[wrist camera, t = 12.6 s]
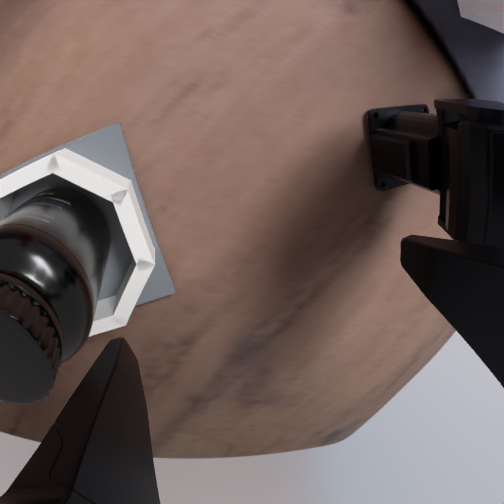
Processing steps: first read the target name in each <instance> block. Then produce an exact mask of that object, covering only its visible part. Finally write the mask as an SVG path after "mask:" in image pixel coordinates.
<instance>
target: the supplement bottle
mask: <svg viewBox="0 0 504 504" xmlns="http://www.w3.org/2000/svg"><path fill="white" fill-rule="evenodd" d="M109 252H110V232H109V228H108V224H107V222H106V219H105V217H104V215H103V213H102V212H101V210H100V209H99V208H98V206H97V205H96V204H95V203H94V202H93V201H92V200H91V199H90V198H88V197H87V196H85V195H84V194H82V193H80V192H78V191H76V190H72V189H68V188H51V189H47V190H44V191H42V192H40V193H38V194H36V195H34V196H33V197H31V198H30V199H28V200H27V201H26V202H24V203H23V204H22V205H20V206H19V207H17V208H16V209H15V210H13V211H12V212H11V213H10V214H8V215H7V216H6V217H4V218H3V219H2V220H0V401H3V402H5V403H12V404H15V405H20V404H22V405H28V404H35V403H36V402H37V401H42V400H43V398H44V397H45V396H48V394H49V392H50V390H51V389H52V388H53V386H54V381H55V378H56V374H57V370H58V368H59V366H60V364H61V363H63V362H65V361H67V360H69V359H70V358H71V357H73V356H74V355H75V354H76V353H77V352H78V351H79V350H80V349H81V348H82V347H83V345H84V344H85V342H86V341H87V339H88V336H89V334H90V331H91V328H92V324H93V321H94V316H95V311H96V307H97V302H98V298H99V293H100V289H101V285H102V281H103V277H104V273H105V269H106V265H107V261H108V257H109Z"/></svg>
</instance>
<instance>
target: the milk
mask: <svg viewBox="0 0 504 504" xmlns="http://www.w3.org/2000/svg"><path fill="white" fill-rule="evenodd" d="M457 2H458V6H459V10H460V15H461V17H463V18H466V19H469V20H471V21H474V22H477V23H479V24H482V25H484V26H487V27H489V28H492V29H494V30H496V31H498V32H501V33H503V34H504V0H457Z"/></svg>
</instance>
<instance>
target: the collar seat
mask: <svg viewBox="0 0 504 504" xmlns="http://www.w3.org/2000/svg"><path fill="white" fill-rule="evenodd" d="M51 188H68V189H72V190H76V191H78V192H80V193H82V194H84V195H85V196H87V197H88V198H90V199H91V200H92V201H93V202H94V203H95V204H96V205H97V206H98V208H99V209H100V210H101V212H102V213H103V215H104V217H105V219H106V222H107V224H108V228H109V232H110V252H109V257H108V261H107V265H106V269H105V273H104V277H103V281H102V285H101V289H100V293H99V298H98V302H97V307H96V311H95V316H94V321H93V324H92V328H91V331H90V334H89V336H93V335H96V334H99V333H103V332H106V331H109V330H113V329H116V328H119V327H122V326H126V323H127V321H128V319H129V317H130V315H131V313H132V311H133V309H134V306H137V305H140V304H143V303H146V302H149V301H152V300H155V299H158V298H162V297H165V296H168V295H171V294H174V293H176V290H175V287H174V284H173V282H172V279H171V276H170V274H169V271H168V268H167V266H166V263H165V260H164V258H163V255H162V252H161V249H160V247H159V244H158V241H157V238H156V235H155V232H154V230H153V227H152V224H151V221H150V218H149V215H148V212H147V209H146V206H145V203H144V200H143V197H142V194H141V191H140V187H139V184H138V181H137V178H136V175H135V171H134V168H133V165H132V161H131V158H130V155H129V151H128V148H127V144H126V141H125V137H124V134H123V130H122V126H121V122H119V123H116V124H114V125H111V126H108V127H105V128H103V129H100V130H97V131H95V132H92V133H90V134H87V135H85V136H82V137H80V138H77V139H75V140H72V141H70V142H68V143H65V144H63V145H61V146H58V147H56V148H54V149H52V150H49V151H47V152H45V153H43V154H41V155H39V156H37V157H34V158H32V159H30V160H28V161H26V162H24V163H22V164H20V165H18V166H16V167H14V168H12V169H11V170H9V171H7V172H5V173H3V174H1V175H0V220H2V219H3V218H4V217H6V216H7V215H8V214H10V213H11V212H12V211H13V210H15V209H16V208H17V207H19V206H20V205H22V204H23V203H24V202H26V201H27V200H28V199H30V198H31V197H33V196H34V195H36V194H38V193H40V192H42V191H44V190H47V189H51ZM89 336H88V337H89Z"/></svg>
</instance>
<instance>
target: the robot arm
mask: <svg viewBox="0 0 504 504" xmlns="http://www.w3.org/2000/svg"><path fill="white" fill-rule="evenodd" d="M434 105H435V108H436V111H437V115H435V114H429V109H428V107H427V105H424V104H417V105H405V106H394V107H385V108H376V109H371V110H369V112H368V122H369V130H370V141H371V150H372V160H373V168H374V179H375V187H376V189H378V190H380V191H384V190H388V189H391V188H395V187H398V186H401V185H405V184H408V183H410V184H413V185H415V186H418V187H421V188H423V189H426V190H428V191H431V192H434V193H436V194H439V195H440V213H439V216H438V224H439V225H440V226H441V227H442V228H443V229H444V230H445V231H446V232H447V233H448V234H449V235H450V236H451V237H452V238H453V240H448V239H440V238H433V237H426V236H418V235H410V236H407V237H405V238H403V239H402V241H401V257H400V261H401V265H402V267H403V268H404V269H405V271H406V272H407V273H408V274H409V276H410V277H411V278H412V280H413V281H414V282H415V283H416V285H417V286H418V287H419V289H420V290H421V291H422V292H423V294H424V295H425V296H426V297H427V299H428V300H429V301H430V302H431V303H432V304H433V305H434V306H435V307H436V308H437V310H438V311H439V312H440V313H441V314H442V315H443V316H444V317H445V318H446V319H447V321H448V322H449V323H450V324H451V325H452V326H453V327H454V328H455V329H456V331H457V332H458V333H459V334H460V335H461V336H462V337H463V338H464V340H465V341H466V342H467V343H468V344H469V346H470V347H471V348H472V349H473V350H474V351H475V353H476V354H477V355H478V356H479V357H480V359H481V360H482V361H483V362H484V363H485V365H486V366H487V367H488V368H489V369H490V371H491V372H492V373H493V374H494V376H495V377H496V378H497V380H498V381H499V382H500V383H501V385H502V386H503V388H504V104H503V103H500V102H496V101H488V100H479V99H442V100H434ZM423 109H424V111H423ZM374 113H375V118H374V116H373V114H374ZM381 182H382V185H381V186H380V184H381ZM0 504H160V500H159V494H158V488H157V482H156V476H155V469H154V462H153V455H152V447H151V439H150V431H149V421H148V412H147V406H146V400H145V396H144V391H143V386H142V381H141V376H140V370H139V365H138V361H137V359H136V357H135V355H134V353H133V351H132V350H131V348H130V346H129V345H128V343H127V341H126V340H125V339H124V338H123V337H120V338H116V339H113V340H110V341H109V343H108V344H107V345H106V347H105V348H104V350H103V351H102V352H101V354H100V355H99V357H98V358H97V360H96V361H95V362H94V364H93V365H92V367H91V368H90V370H89V371H88V373H87V374H86V375H85V377H84V378H83V380H82V381H81V383H80V384H79V386H78V387H77V389H76V390H75V392H74V393H73V395H72V396H71V398H70V399H69V401H68V402H67V404H66V405H65V407H64V408H63V410H62V411H61V413H60V414H59V416H58V418H57V419H56V421H55V424H53V425H52V427H51V428H50V430H49V432H48V433H47V435H46V436H45V438H44V439H43V441H42V442H41V444H40V445H39V447H38V449H37V450H36V451H35V453H34V454H33V455H32V457H31V458H30V460H29V461H28V463H27V464H26V465H25V466H24V468H23V469H22V471H21V472H20V473H19V475H18V476H17V478H16V479H15V480H14V482H13V483H12V485H11V486H10V487H9V489H8V490H7V491H6V492H5V494H3V495H2V496H1V497H0Z"/></svg>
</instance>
